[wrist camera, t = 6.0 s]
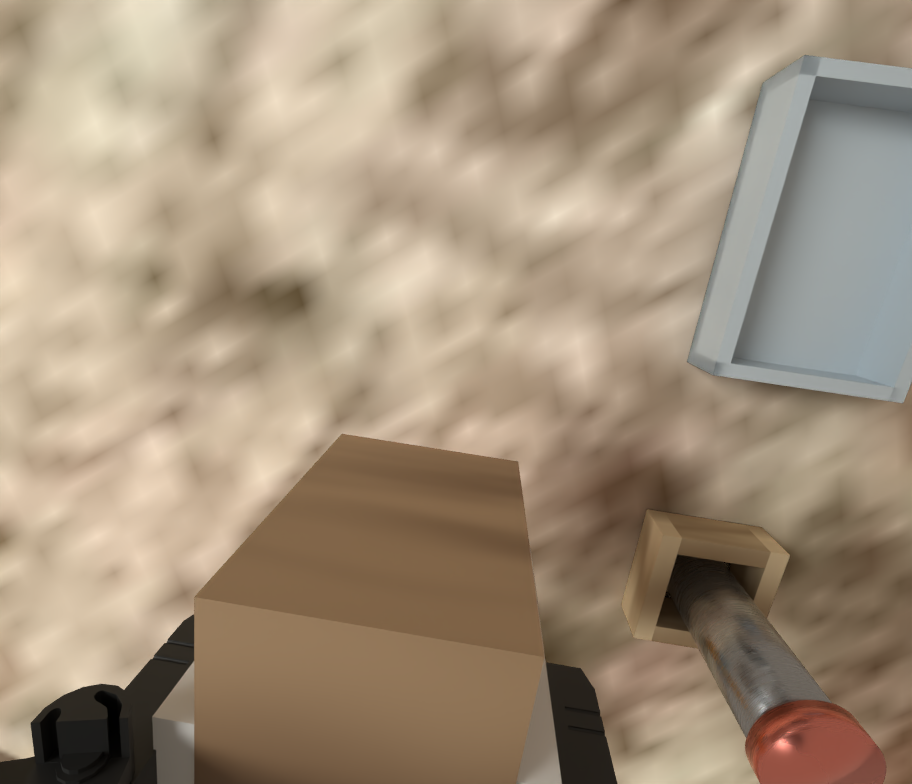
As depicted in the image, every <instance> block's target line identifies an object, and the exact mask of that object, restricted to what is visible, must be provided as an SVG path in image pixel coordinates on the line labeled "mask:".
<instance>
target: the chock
mask: <svg viewBox="0 0 912 784" xmlns="http://www.w3.org/2000/svg"><path fill="white" fill-rule="evenodd" d="M544 658H545V657H544V649H543V642H542V635H541V627H540V620H539V612H538V605H537V598H536V590H535V583H534V576H533V568H532V561H531V553H530V546H529V539H528V531H527V524H526V517H525V509H524V502H523V494H522V487H521V480H520V472H519V465H518V462H517V461H510V460H504V459H498V458H491V457H485V456H479V455H472V454H466V453H460V452H453V451H447V450H441V449H434V448H428V447H422V446H415V445H409V444H403V443H396V442H390V441H384V440H377V439H371V438H365V437H358V436H352V435H346V434H341V436H340V437H339V438H338V439H337V440H336V441H335V442H334V443H333V444H332V445H331V447H330V448H329V449H328V450H327V451H326V452H325V453H324V454H323V455H322V457H321V458H320V459H319V460H318V461H317V462H316V463H315V464H314V465H313V466H312V468H311V469H310V470H309V471H308V472H307V473H306V474H305V475H304V476H303V478H302V479H301V480H300V481H299V482H298V483H297V484H296V485H295V486H294V487H293V489H292V490H291V491H290V492H289V493H288V494H287V495H286V496H285V497H284V499H283V500H282V501H281V502H280V503H279V504H278V505H277V506H276V507H275V508H274V510H273V511H272V512H271V513H270V514H269V515H268V516H267V517H266V518H265V520H264V521H263V522H262V523H261V524H260V525H259V526H258V527H257V528H256V529H255V531H254V532H253V533H252V534H251V535H250V536H249V537H248V538H247V539H246V541H245V542H244V543H243V544H242V545H241V546H240V547H239V548H238V549H237V550H236V552H235V553H234V554H233V555H232V556H231V557H230V558H229V559H228V560H227V562H226V563H225V564H224V565H223V566H222V567H221V568H220V569H219V570H218V571H217V573H216V574H215V575H214V576H213V577H212V578H211V579H210V580H209V581H208V582H207V584H206V585H205V586H204V587H203V588H202V589H201V590H200V591H199V592H198V594H197V595H196V596H195V597H194V784H516V781H517V777H518V772H519V768H520V764H521V759H522V755H523V750H524V746H525V741H526V737H527V733H528V728H529V724H530V719H531V715H532V711H533V706H534V702H535V697H536V693H537V688H538V684H539V680H540V675H541V671H542V666H543V662H544Z"/></svg>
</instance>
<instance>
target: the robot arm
mask: <svg viewBox="0 0 912 784" xmlns="http://www.w3.org/2000/svg"><path fill="white" fill-rule="evenodd" d="M530 553H531V549H530ZM531 561H532V557H531ZM532 568H533V564H532ZM533 576H534V572H533ZM534 583H535V579H534ZM535 590H536V587H535ZM536 598H537V594H536ZM537 605H538V601H537ZM538 612H539V609H538ZM539 620H540V616H539ZM540 627H541V624H540ZM541 635H542V631H541ZM542 642H543V639H542ZM543 649H544V646H543ZM544 657H545V654H544ZM31 730H32V738H33V746H34V755H35V757H31V758H26V759H19V760H11V761H4V762H0V784H194V615H192V616H191V617H189V618H187V619H186V620H184V621H183V622H182V624H181V625H180V626H179V627H178V628H177V629H176V631H175V632H174V633H173V634H172V635H171V636H170V638H169V639H168V641H167V643H164V644H163V646H162V647H161V648H160V649H159V650H158V651H157V653H156V654H155V655H154V658H153V659H151V660H150V661H149V662H148V663H147V664H146V665H145V667H144V668H143V669H142V670H141V671H140V672H139V673H138V675H137V676H136V677H135V678H134V679H133V680H132V682H131V683H130V684H129V685H128V686H127V687H126V689H125V690H123V689H122V688H120V687H119V686H115V685H107V684H99V685H93V686H87V687H82V688H80V689H78V690H75V691H73V692H70V693H68V694H66V695H63V696H62V697H60V698H59V699H57V700H56V701H54V702H53V703H51V704H50V705H48V706H47V707H45V708H44V709H43V710H42V711H41V712H40V714H39V715H38V716H37V717H36V718H35V719H34V720H33V721H32V722H31ZM516 784H617V781H616V776H615V772H614V768H613V764H612V760H611V756H610V752H609V747H608V743H607V739H606V737H605V731H604V727H603V722H602V718H601V717H600V710H599V706H598V702H597V697H596V693H595V689H594V688H593V686H592V685H591V683H590V682H589V680H588V679H587V677H586V676H585V674H584V673H583V671H582V670H581V668H575V667H570V666H564V665H558V664H552V663H546V661H545V658H544V662H543V666H542V671H541V675H540V680H539V684H538V688H537V693H536V697H535V702H534V706H533V711H532V715H531V719H530V724H529V728H528V733H527V737H526V741H525V746H524V750H523V755H522V759H521V764H520V768H519V772H518V777H517V781H516Z"/></svg>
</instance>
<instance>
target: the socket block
mask: <svg viewBox="0 0 912 784" xmlns="http://www.w3.org/2000/svg"><path fill="white" fill-rule="evenodd" d="M677 554H678V555H684V556H691V557H697V558H703V559H709V560H716V561H722V562H728V563H731V566H730V569H729V570H730V571H731V573H732V574H733V575H734V577H735V578H736V579H737V581H738V582H739V583H740V584H741V586H742V587H743V588H744V590H745V591H746V592H747V594H748V595H749V596H750V597H751V599H752V600H753V601H754V603H755V604H756V605H757V607H758V608H759V609H760V610H761V612H762V613H763V614H764V616H765V617H766V618H767V616H768V614H769V611H770V608H771V606H772V603H773V600H774V597H775V595H776V592H777V589H778V587H779V584H780V581H781V579H782V576H783V573H784V570H785V568H786V565H787V562H788V560H789V557H790V555H789V554H788V553H787V552H786V551H785V550H784V549H783V548H782V547H781V546H780V545H779V544H778V543H777V542H776V541H775V540H774V539H773V538H772V537H771V536H770V535H769V534H768V533H767V532H766V531H765V530H764V529H763V528H762V527H756V526H750V525H744V524H737V523H731V522H725V521H718V520H712V519H706V518H699V517H693V516H687V515H680V514H674V513H668V512H661V511H655V510H649V509H647V511H646V515H645V518H644V522H643V526H642V529H641V533H640V537H639V540H638V544H637V548H636V551H635V555H634V559H633V563H632V566H631V570H630V574H629V577H628V581H627V585H626V588H625V592H624V596H623V599H622V603H621V605H622V608H623V611H624V613H625V616H626V619H627V621H628V624H629V627H630V629H631V632H632V635H633V637H634V638H638V639H644V640H650V641H656V642H662V643H668V644H674V645H680V646H686V647H692V648H698V647H697V645H696V643H695V641H694V639H693V638H692V636H691V634H690V632H689V630H688V628H687V626H686V624H685V623H684V621H683V619H682V617H681V615H680V613H679V611H678V609H677V608H676V606H675V604H674V602H673V600H672V599H671V598H665V593H666V590H667V587H668V583H669V580H670V577H671V573H672V570H673V567H674V563H675V560H676V557H677Z"/></svg>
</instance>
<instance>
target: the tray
mask: <svg viewBox="0 0 912 784" xmlns="http://www.w3.org/2000/svg"><path fill="white" fill-rule="evenodd" d="M687 362H688V363H690V364H692V365H694V366H696V367H698V368H700V369H702V370H704V371H706V372H708V373H709V374H711V375H716V376H722V377H729V378H736V379H743V380H749V381H756V382H763V383H770V384H776V385H783V386H790V387H796V388H803V389H810V390H817V391H823V392H830V393H837V394H844V395H850V396H857V397H864V398H871V399H877V400H884V401H891V402H898V403H903V402H904V400H905V397H906V395H907V392H908V390H909V387H910V385H911V382H912V68H904V67H896V66H888V65H880V64H872V63H864V62H856V61H848V60H840V59H832V58H824V57H817V56H809V55H804V56H802V57H801V58H799V59H798V60H796V61H795V62H793V63H792V64H790V65H789V66H787V67H786V68H784V69H783V70H781V71H780V72H778V73H777V74H775V75H774V76H772V77H771V78H769V79H768V80H766V81H765V82H763V84H762V88H761V92H760V95H759V99H758V103H757V106H756V110H755V114H754V117H753V121H752V125H751V128H750V132H749V136H748V139H747V143H746V147H745V150H744V154H743V158H742V161H741V165H740V169H739V172H738V176H737V180H736V183H735V187H734V191H733V195H732V198H731V202H730V206H729V209H728V213H727V217H726V220H725V224H724V228H723V231H722V235H721V239H720V242H719V246H718V250H717V253H716V257H715V261H714V264H713V268H712V272H711V275H710V279H709V283H708V287H707V290H706V294H705V298H704V301H703V305H702V309H701V312H700V316H699V320H698V323H697V327H696V331H695V334H694V338H693V342H692V345H691V349H690V353H689V356H688V360H687Z"/></svg>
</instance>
